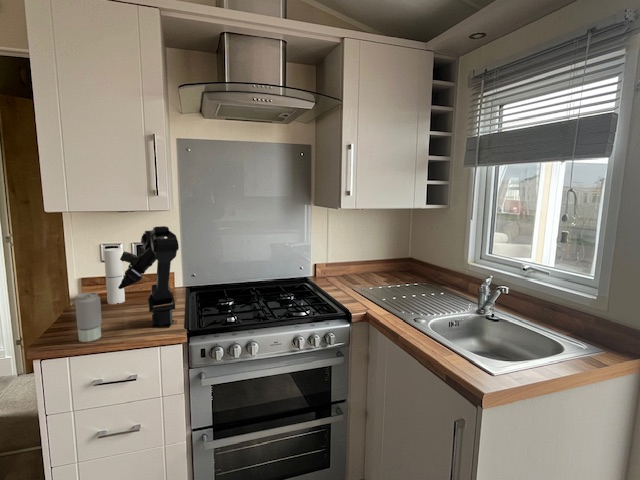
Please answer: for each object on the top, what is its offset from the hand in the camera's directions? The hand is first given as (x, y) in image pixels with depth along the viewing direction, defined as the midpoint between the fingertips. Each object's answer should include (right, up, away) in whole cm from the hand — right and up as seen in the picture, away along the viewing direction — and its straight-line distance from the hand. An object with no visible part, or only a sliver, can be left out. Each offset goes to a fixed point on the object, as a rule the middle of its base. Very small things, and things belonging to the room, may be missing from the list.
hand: (120, 285), depth 149 cm
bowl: (-1, -16, -19) cm, 25 cm away
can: (0, -13, -19) cm, 23 cm away
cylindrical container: (-14, -11, +22) cm, 28 cm away
